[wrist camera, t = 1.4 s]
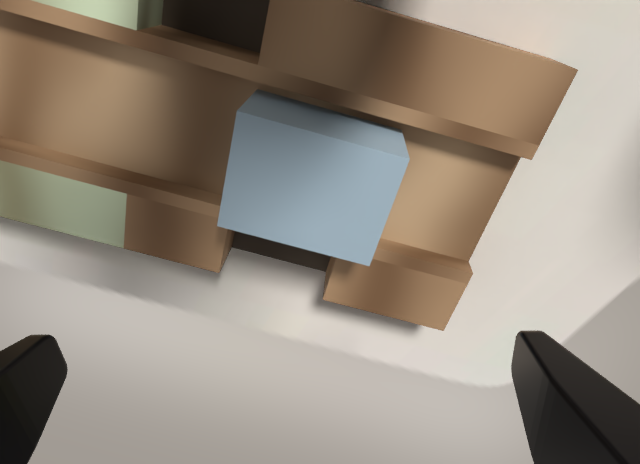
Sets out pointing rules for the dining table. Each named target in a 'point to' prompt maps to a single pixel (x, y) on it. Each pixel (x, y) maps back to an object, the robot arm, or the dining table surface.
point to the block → (311, 177)
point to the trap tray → (219, 118)
